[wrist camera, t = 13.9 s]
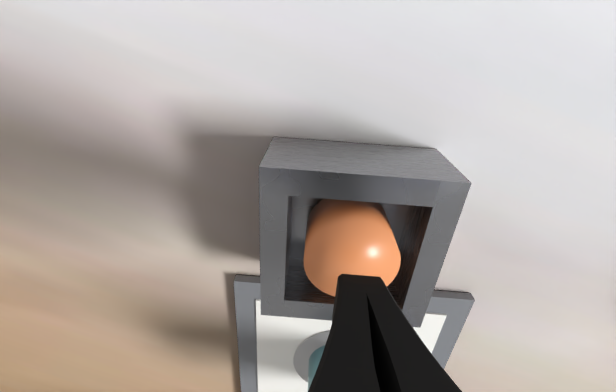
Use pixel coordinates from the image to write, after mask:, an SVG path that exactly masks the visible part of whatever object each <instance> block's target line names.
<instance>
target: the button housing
mask: <svg viewBox="0 0 616 392" xmlns="http://www.w3.org/2000/svg"><path fill="white" fill-rule="evenodd" d="M470 186H471V182H470V181H469V180H468V179H467V178H466V177H465V176H464V175H463V174H462V173H461V172H460V171H459V170H458V169H457V168H456V167H454V166H453V165H452V164H451V163H450V162H449V161H448V160H447V159H446V158H445V157H444V156H443V155H442V154H441V153H440V152H439V151H438V150H437V149H429V148H415V147H402V146H389V145H376V144H362V143H349V142H336V141H323V140H310V139H296V138H283V137H273V139H272V141H271V143H270V145H269V147H268V149H267V151H266V153H265V155H264V157H263V159H262V161H261V163H260V165H259V216H260V297H261V315H267V316H280V317H293V318H305V319H318V320H330V321H332V314H333V307H334V300H335V297H334V296H331V295H329V294H326V293H324V292H323V291H321V290H319V289H318V288H317V287H315V286H314V285H313V284H312V283H311V281H310V280H309V279H308V277H307V275H306V272H305V269H304V250H305V238H306V226H307V220H308V216H309V214H310V212H311V211H312V209H313V208H314V207H315V205H316V204H317V203H319V202H320V201H321V200H323V199H336V200H349V201H362V202H375V203H379V204H380V205H381V206H382V208H383V209H384V211H385V213H386V216H387V218H388V221H389V224H390V227H391V229H392V232H393V235H394V238H395V240H396V243H397V246H398V249H399V251H400V257H401V263H400V268H399V271H398V273H397V275H396V277H395V278H394V280H393V281H392V282H391V283H390V284H389V285H388V286H387V288H388V290H389V291H390V293H391V295H392V296H393V298H394V300H395V301H396V303H397V304H398V306H399V308H400V309H401V311H402V312H403V314H404V315H405V317H406V318H407V320H408V321H409V323H410V324H411V326H412V327H419V328H420V327H421V325H422V322H423V319H424V316H425V313H426V310H427V308H428V305H429V302H430V299H431V296H432V293H433V291H434V288H435V285H436V282H437V279H438V276H439V274H440V271H441V268H442V265H443V262H444V259H445V257H446V254H447V251H448V248H449V245H450V242H451V239H452V237H453V234H454V231H455V228H456V225H457V222H458V220H459V217H460V214H461V211H462V208H463V205H464V203H465V200H466V197H467V194H468V191H469V188H470Z"/></svg>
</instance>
